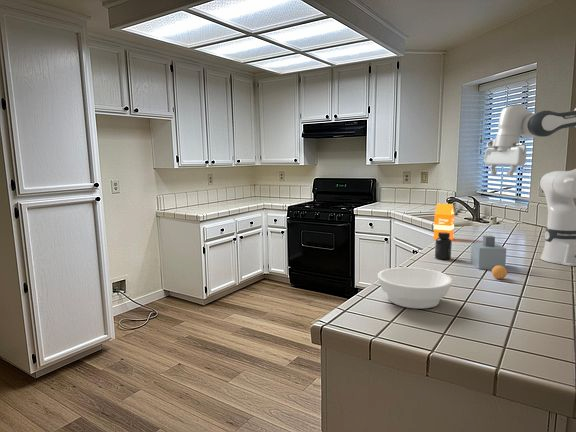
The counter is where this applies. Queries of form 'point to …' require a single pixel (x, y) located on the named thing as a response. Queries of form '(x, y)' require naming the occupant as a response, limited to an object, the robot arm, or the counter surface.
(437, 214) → the orange juice
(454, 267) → the counter surface
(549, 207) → the robot arm
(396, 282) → the bowl
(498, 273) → the ball
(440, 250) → the supplement bottle
